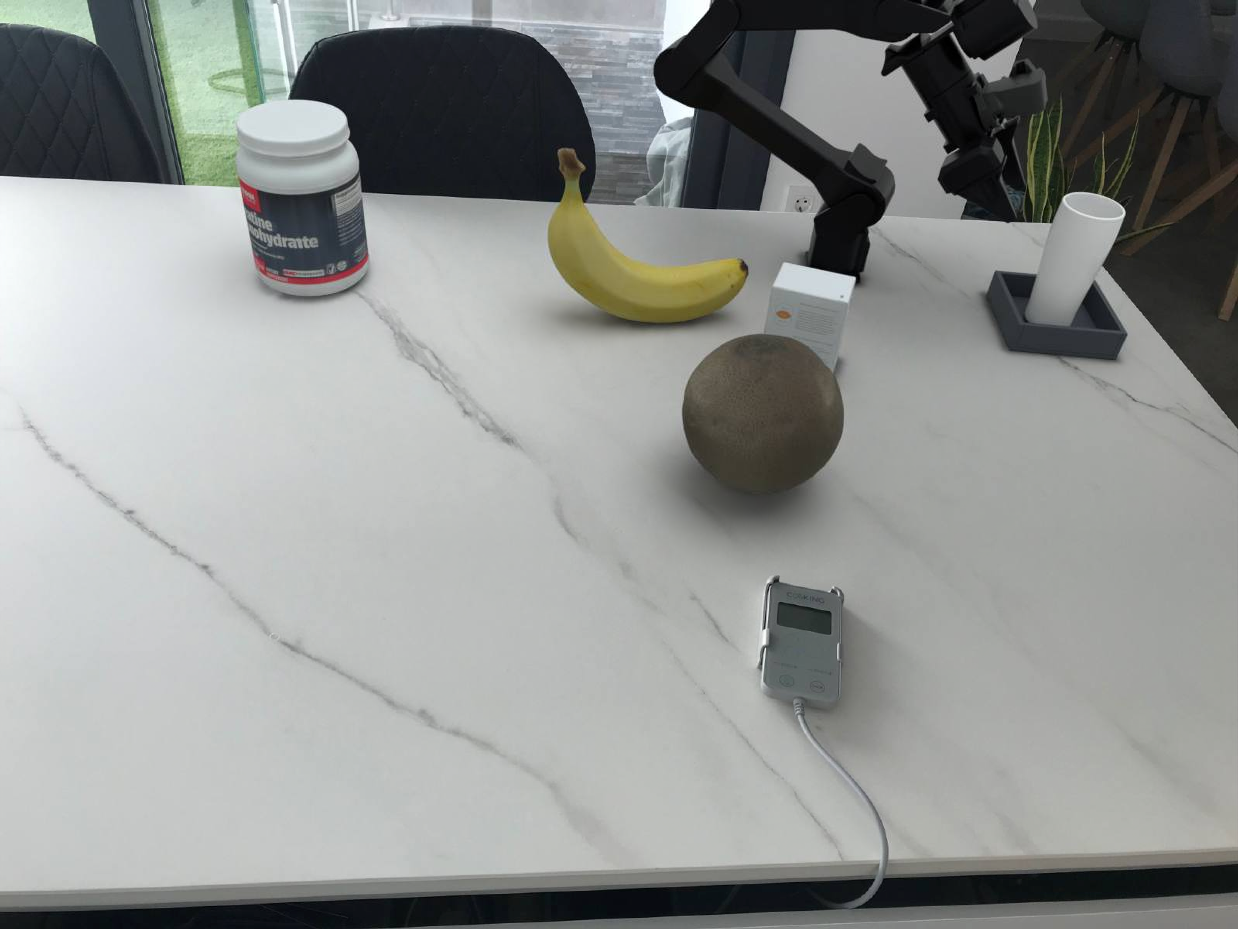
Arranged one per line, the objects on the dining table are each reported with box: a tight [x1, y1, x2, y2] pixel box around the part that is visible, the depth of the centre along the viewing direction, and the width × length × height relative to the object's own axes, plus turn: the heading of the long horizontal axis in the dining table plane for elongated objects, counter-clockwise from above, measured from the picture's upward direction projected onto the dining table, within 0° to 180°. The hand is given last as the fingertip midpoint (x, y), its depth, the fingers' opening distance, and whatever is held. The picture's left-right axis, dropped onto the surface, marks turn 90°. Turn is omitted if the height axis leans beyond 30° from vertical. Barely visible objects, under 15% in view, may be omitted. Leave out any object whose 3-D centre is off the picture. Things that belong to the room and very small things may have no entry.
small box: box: [763, 261, 856, 374], centre depth 103 cm, size 8×6×10 cm
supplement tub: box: [235, 99, 370, 297], centre depth 109 cm, size 13×13×18 cm
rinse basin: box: [986, 270, 1129, 361], centre depth 115 cm, size 12×12×4 cm
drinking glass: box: [1025, 191, 1126, 326], centre depth 111 cm, size 7×7×15 cm
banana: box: [547, 147, 750, 324], centre depth 106 cm, size 23×6×20 cm, turn 97°
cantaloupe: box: [681, 333, 845, 494], centre depth 87 cm, size 14×14×15 cm
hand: (1017, 204), depth 110 cm, fingers open, 9 cm apart
